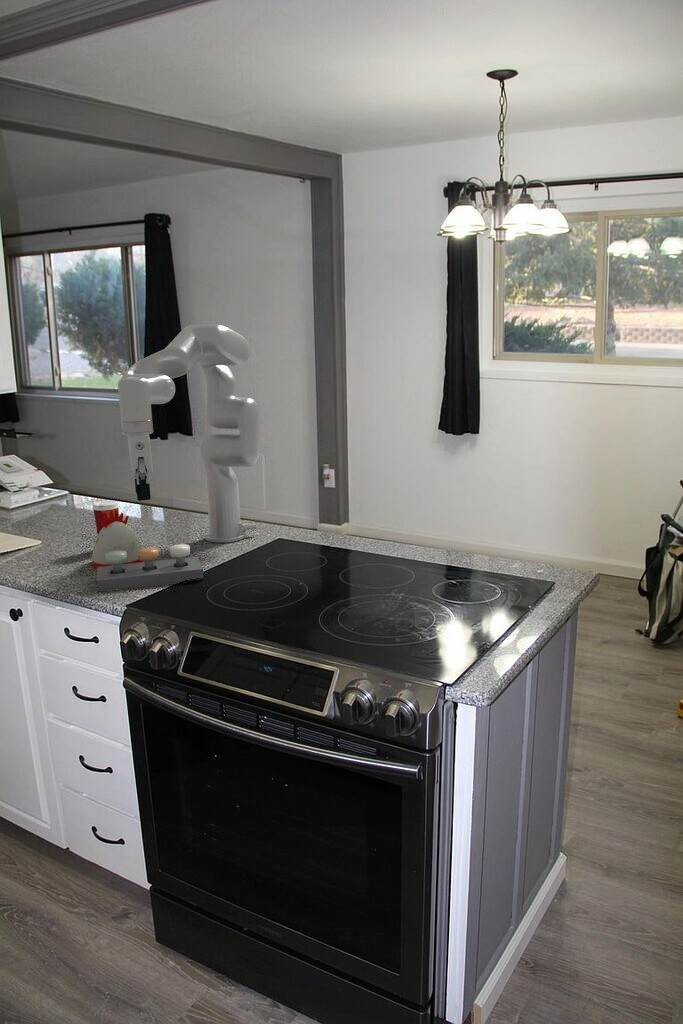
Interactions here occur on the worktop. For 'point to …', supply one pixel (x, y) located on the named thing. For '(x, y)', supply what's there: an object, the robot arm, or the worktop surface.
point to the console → (148, 574)
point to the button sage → (116, 560)
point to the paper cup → (104, 507)
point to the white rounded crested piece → (115, 540)
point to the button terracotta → (148, 556)
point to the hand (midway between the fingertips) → (143, 496)
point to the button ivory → (180, 553)
